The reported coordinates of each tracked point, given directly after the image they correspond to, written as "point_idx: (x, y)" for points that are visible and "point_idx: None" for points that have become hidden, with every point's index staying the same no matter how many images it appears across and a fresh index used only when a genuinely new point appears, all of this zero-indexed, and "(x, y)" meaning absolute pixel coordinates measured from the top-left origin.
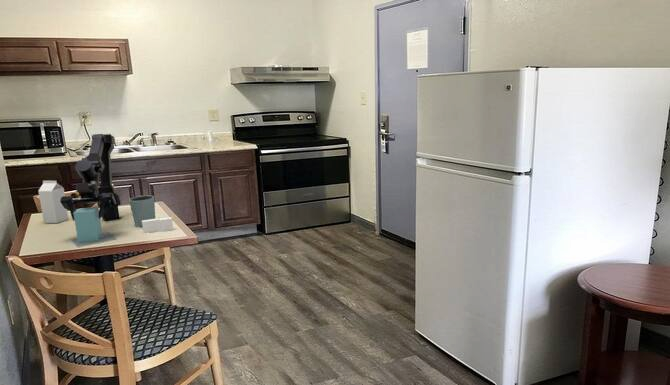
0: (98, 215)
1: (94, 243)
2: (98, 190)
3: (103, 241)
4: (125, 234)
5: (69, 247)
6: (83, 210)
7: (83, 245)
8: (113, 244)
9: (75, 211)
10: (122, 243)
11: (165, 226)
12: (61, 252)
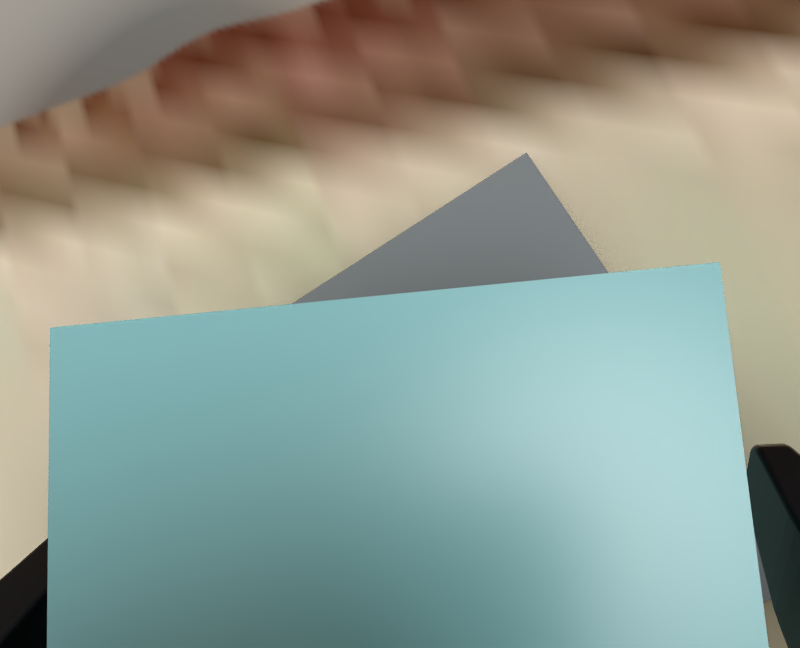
0: None
1: (361, 272)
2: None
3: None
4: None
5: (661, 207)
6: (432, 557)
7: (476, 213)
8: (143, 218)
9: (722, 469)
10: (59, 234)
11: None
12: (674, 14)
